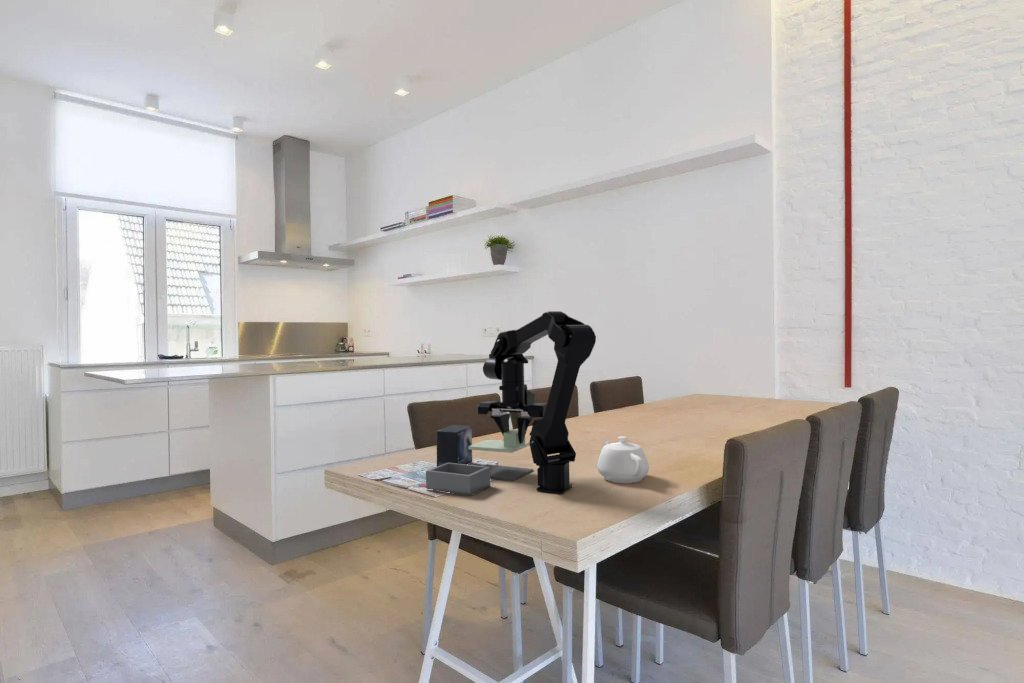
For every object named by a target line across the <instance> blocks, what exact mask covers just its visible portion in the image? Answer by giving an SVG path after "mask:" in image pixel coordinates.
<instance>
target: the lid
mask: <svg viewBox="0 0 1024 683" xmlns="http://www.w3.org/2000/svg"><path fill="white" fill-rule="evenodd" d="M502 437H503V440H500V439H485V440H482V441H479V442H477V443H474V444H473V443H472V445H471V446H468V449H469V450H472V451H484V452H498V453H509V454H510V453H511V454H513V453H515V452H518V451H521V450H523V449H524V448H527V447H530V444H529V443H530V441H529V442H528V441H526V437H525V438H524V441H523V443H522V444H520V443H519V437H518V429H511V430H510V429H509V431H508V432H505V433H503V435H502Z"/></svg>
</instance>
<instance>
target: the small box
mask: <svg viewBox="0 0 1024 683" xmlns="http://www.w3.org/2000/svg"><path fill="white" fill-rule="evenodd" d="M472 428H473V426H472V425H465V424H464V425H462V424H461V425H460V424H452V425H448V426H446V427H443V428H440V429H438V430H436V467H437V466H440V465H443V464H445V463H457V464H468V465H470V464H472V463H473V450H469V449H468V446H471V445H473V429H472ZM471 462H472V463H471ZM469 463H470V464H469Z"/></svg>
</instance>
